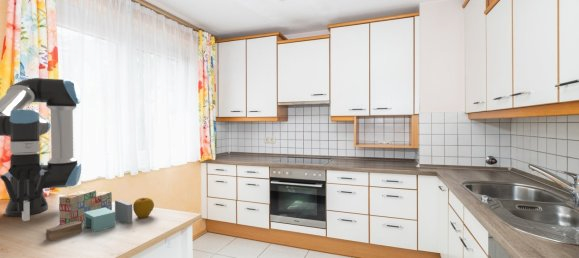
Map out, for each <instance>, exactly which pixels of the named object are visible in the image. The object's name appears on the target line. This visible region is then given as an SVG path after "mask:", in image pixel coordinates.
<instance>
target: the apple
mask: <svg viewBox="0 0 579 258" xmlns="http://www.w3.org/2000/svg"><path fill="white" fill-rule="evenodd" d="M154 207H155V203H154V201H153V199H151V198H149V197H140V198H137V199H136V200H135V201H134V202H133V203H132V211H133V212H134V215H135V216H136V217H138V218H140V219H145V218H147V217H148V216H149V215H151V213H152V212H153V210H154Z"/></svg>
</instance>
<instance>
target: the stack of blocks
mask: <svg viewBox="0 0 579 258" xmlns="http://www.w3.org/2000/svg"><path fill="white" fill-rule="evenodd" d="M112 198H113V197H112V191H98V192H97V190H96V189H94V190H93V189H92V190H91V189H83V190H78V191H76V192H72V193H68V194H64V195H62V196H59V198H58V203H59V204H58V211H59V212H58V213H59V226H60V225H63V224H67V223H71V222H74V221H78V222H81V223H83V222H84V212H87V211H91V210H96V209H100V208H107V209H110V210H112V211H113V204H112V203H113V199H112Z"/></svg>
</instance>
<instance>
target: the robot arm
mask: <svg viewBox="0 0 579 258" xmlns="http://www.w3.org/2000/svg"><path fill="white" fill-rule="evenodd" d="M32 103H45V104H46V108H48V109H49V111H50V120H48V118H46V117H43V116H42V115H40V112H39V111H38V110H36V109H25V107H26V106H27V105H31V104H32ZM80 103H81V93H80V89H79V86H78V84H77V82H75V81H74V80H69V79H64V78H63V79H60V78H59V79H57V78H41V77H33V78H27V79H23V80H21V81H18V82H16V83H14V84H12V85H10V86H9V87H8V88H7V89H6V93H5V95H3V96H2V97H1V98H0V137H1V136H2V137H5V136H6V137H8V136H9V137H10V138H9V139H10V146H9V147H10V149H9V152H10V153H11V154H10V157H9V158H10V162H9V163H10V164H9V165H10V166H9V169H8V171H7V172H5V173H4V174H1V175H0V179H1V180H2V181H3V183H4V186H5V189H6V192H7V195H8V198H9V200H8V202H7V205H6V208H5V211H4V214H5V216H6V217H21V220H22V221H23V222H26V221H27V222H28V221H30V219H31V218H30V217H31V215H35V214H36V215H37V214H39V213H42V212H45V211H47V210H48V209H49V203H48V201H47V199H46V197H45V194H44V190H46V189H58V188H65V189H66V188H71V187H75V186H77V185H78V183H79V181H80V178H81V174H82V163H79V162H78V159H77V158H75V157H74V121H73V120H74V114H73V112H74V110H75V109H76V108H77V105H78V104H80ZM23 108H24V109H23ZM49 131H50V143H51V144H50V147H51V148H50V149H51V151H50V152H51V158H50V159H49V160H48V161H47V164H44V162H42V161H40V159H41V158H40V153H39V152H40V136H43V135H45V134H47V133H49Z"/></svg>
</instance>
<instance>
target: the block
mask: <svg viewBox="0 0 579 258" xmlns="http://www.w3.org/2000/svg"><path fill="white" fill-rule="evenodd" d="M83 226H84V228H88V227H91V229H90V230H91V232H93V233H94V232H95V233H96V232H98V231H101V230H105V229H109V228H114V227H115V226H116V218H115V210H113V209H112V210H110V209H107V208H100V209H96V210H91V211H87V212H84V221H83Z"/></svg>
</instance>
